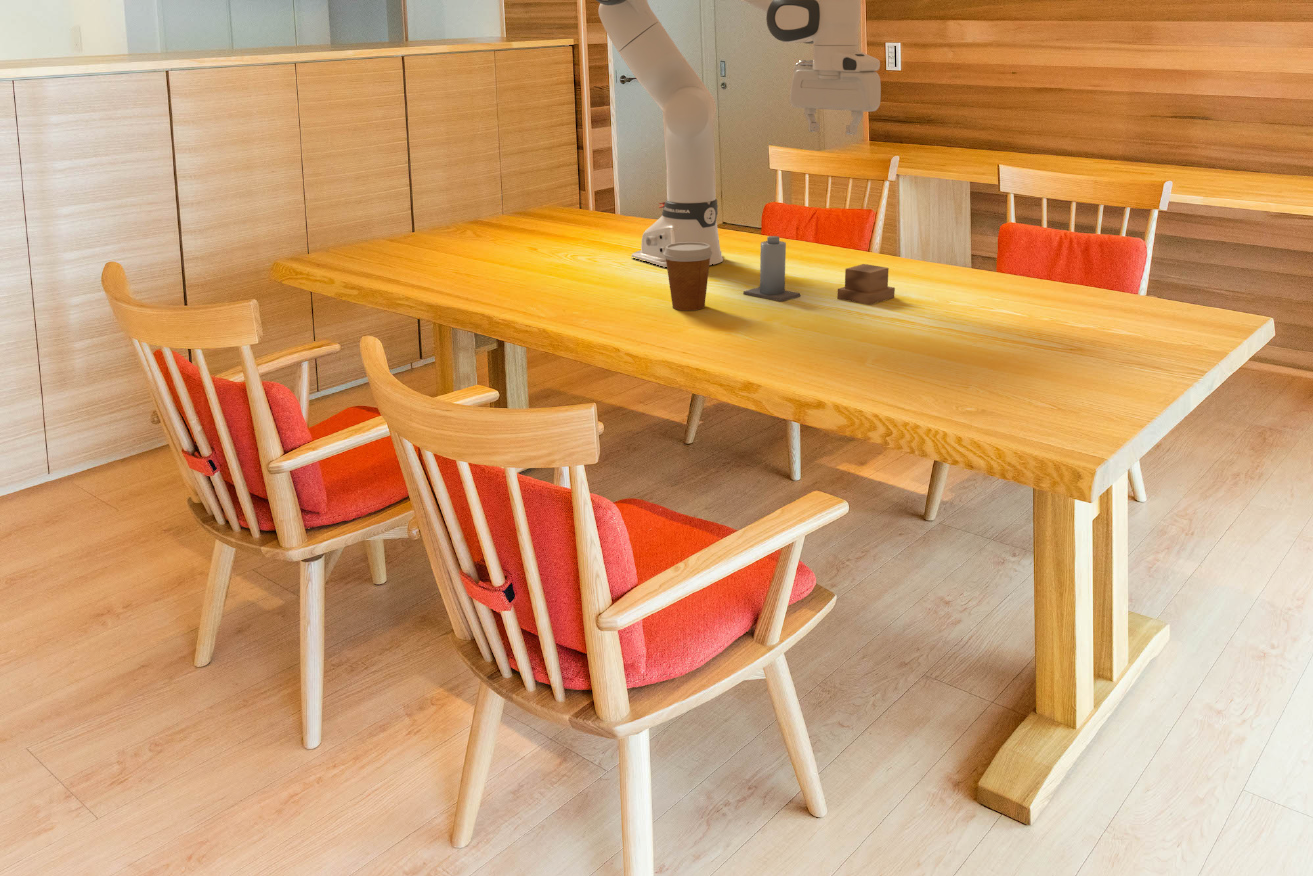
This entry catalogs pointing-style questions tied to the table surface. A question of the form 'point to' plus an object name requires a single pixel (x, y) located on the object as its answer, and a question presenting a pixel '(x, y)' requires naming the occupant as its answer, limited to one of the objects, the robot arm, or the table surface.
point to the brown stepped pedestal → (866, 285)
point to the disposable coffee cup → (688, 274)
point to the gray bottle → (772, 266)
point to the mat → (781, 297)
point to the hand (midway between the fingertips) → (832, 133)
